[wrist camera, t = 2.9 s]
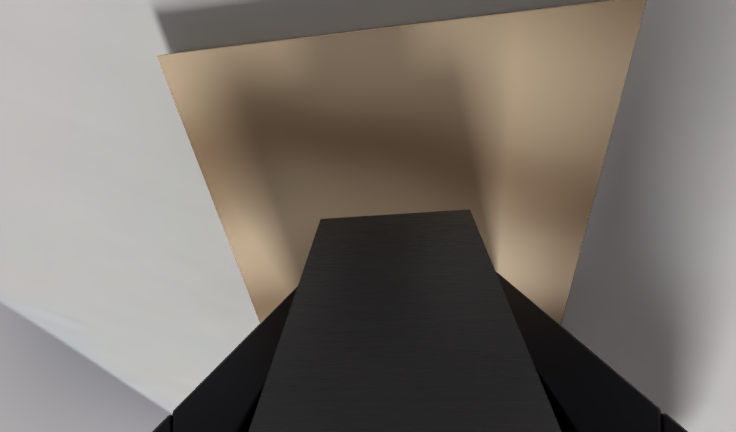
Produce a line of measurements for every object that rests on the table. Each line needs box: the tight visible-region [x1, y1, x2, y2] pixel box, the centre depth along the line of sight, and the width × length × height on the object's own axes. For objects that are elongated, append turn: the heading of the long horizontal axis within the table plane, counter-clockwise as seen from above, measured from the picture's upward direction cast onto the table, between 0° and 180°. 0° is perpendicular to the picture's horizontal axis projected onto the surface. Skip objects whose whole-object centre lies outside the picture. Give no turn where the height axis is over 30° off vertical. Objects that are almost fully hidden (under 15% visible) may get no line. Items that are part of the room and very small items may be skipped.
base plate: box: [157, 0, 646, 325], centre depth 16 cm, size 23×14×1 cm, turn 6°
